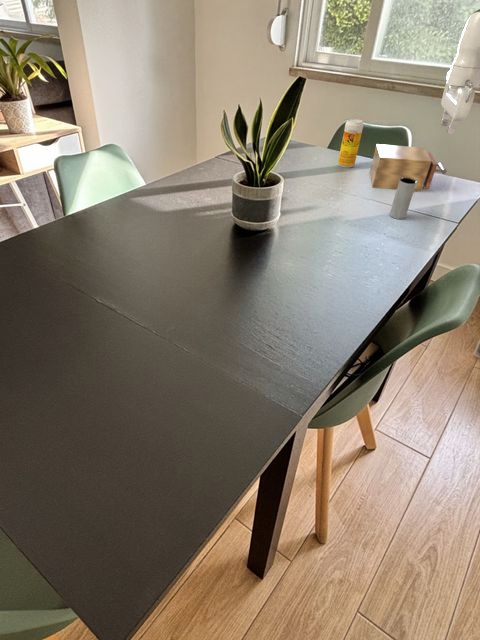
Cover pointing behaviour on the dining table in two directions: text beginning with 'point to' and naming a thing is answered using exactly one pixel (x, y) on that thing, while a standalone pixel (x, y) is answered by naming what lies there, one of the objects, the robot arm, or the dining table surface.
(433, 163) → the drawer
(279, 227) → the dining table surface
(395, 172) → the cabinet
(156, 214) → the dining table surface
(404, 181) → the grey cylindrical tube
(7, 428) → the dining table surface
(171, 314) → the dining table surface
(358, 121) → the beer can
